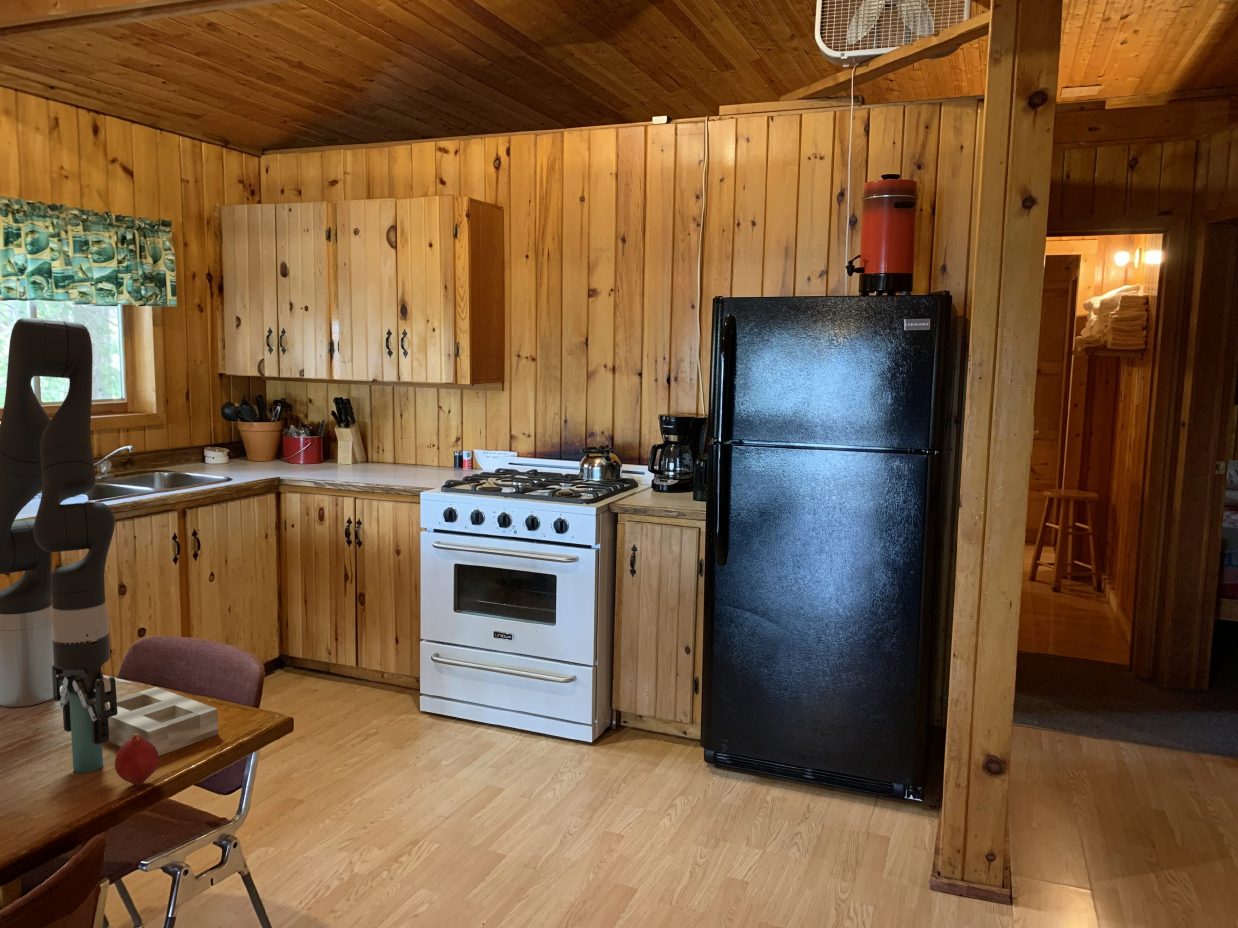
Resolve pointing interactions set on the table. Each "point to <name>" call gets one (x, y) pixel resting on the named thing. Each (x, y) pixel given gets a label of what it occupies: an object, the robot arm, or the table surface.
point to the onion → (136, 760)
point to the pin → (83, 738)
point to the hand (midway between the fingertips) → (86, 735)
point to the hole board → (162, 720)
